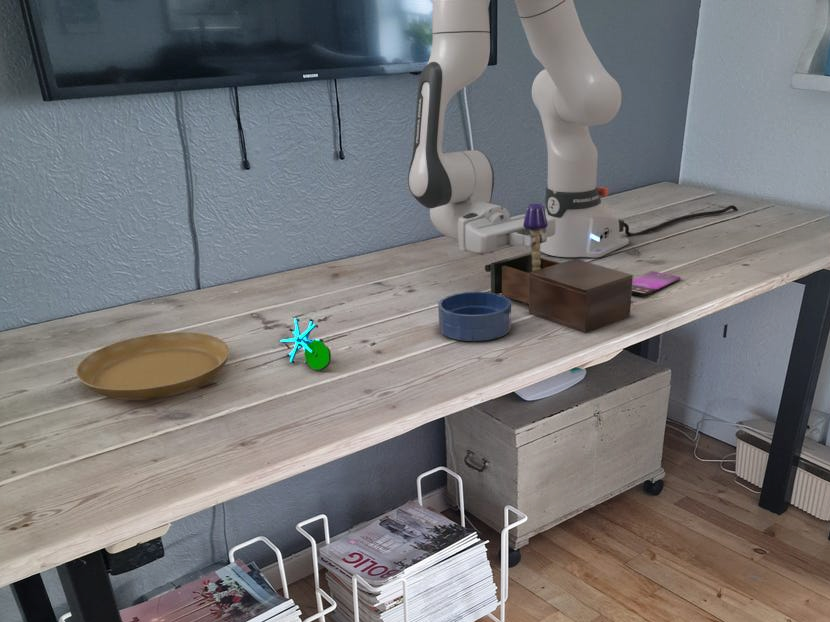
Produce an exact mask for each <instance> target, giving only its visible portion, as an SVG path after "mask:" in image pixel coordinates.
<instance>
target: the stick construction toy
mask: <svg viewBox="0 0 830 622" xmlns="http://www.w3.org/2000/svg"><path fill="white" fill-rule="evenodd" d="M293 319H294V328H295V329H293V328H290V327H289V328H288V331H289V332H291V333H292V335H294V336H295V337H292V338H291V337H290V338H284V339H280V340H279V341H280V343H282V344H286V343H294V346H293V349H292V351H291V352H289V353H286V354H285V357H288V358H290V359H289V363H291V364H295V363H296V361H295V357H296V354H297V353H298V352H299V351H300V350H301V349H302V348H303V352H304V361H303V362H304V364H307V365H309V366H310V367H311V369H313V370H315V371H322V370H325V369H326V368H327V367H328V366H329V365H330V363H331V359H332V354H331V350H330V348H329V346H328V345H326V344H325V343H324V342H325V340H324V339H322V338H318V339H309V337H310V334H311V332H312V331H313V330H314V329H315V328H316V329H318V328H319V325H318V324H316V323H314V321H315V319H312V318H310V317H309V318H308V321H309V324H308V326H307V329H306V330H305V331H303V332H302V333H301V330H300V326H299V322H300V319H299V318H297V317H294V318H293Z"/></svg>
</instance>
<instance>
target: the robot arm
mask: <svg viewBox="0 0 830 622" xmlns="http://www.w3.org/2000/svg"><path fill="white" fill-rule="evenodd" d="M490 2H491V0H432V14H431V15H432V17H431V27H432V28H431V31H432V32H431V35H432V44H431V51H430V55H429V59H428V62H427V64H426V65H425V66H424V67H423V68H422V69H421V73H420V76H419V80H418V88H417V97H416V107H415V122H414V135H413V146H412V156H411V160H410V165H409V169H408V173H407V184H408V189H409V192H410V193H411V195H412V196H413V198H414V200H416V202H417V203H419V204H420V205H422V206H423V207H424V208H426V209H429V217H430V221H431V223H432V226H434V228H435V229H436V230H437V231H438V232H439V233H441V234H442V235H444V236H446V237H449V238H450V239H453V240H456V241H458V250H459V251H460V252H461V251H462V252H472V253H477V254H489V253H491V252H496V251H499V250H504V249H507V248H511V247H515V246H525V247H531V246H533V245H535V244H536V242H535V240H536V237H535V236H532V234H531V229H526V228H524V226H523V224H524V219H525V214H526V213H522V214H518V215H513V216H511V213H510V212H509V210H508V209H507V208H505V207H504V206H502V205H498V204H495V203H491V202H492V197H493V192H494V187H495V172H494V167H493V164H492V163H491V160H490V159H489V157H487V155H486V154H485V153H484V152H483V151H481V150H478V149H472V150H459V151H455V152H454V151H453V152H445V153H443V138H444V129H445V128H444V126H445V115H446V109H447V106H448V104H449V102H450V101H451V99H452V98H453V97H454V96H455V95H456V94H457V93H458V92H460V91H461V90H463V89H464V88H466V87H467V86H469V85H471V84H473V83H474V82H476V80H477V79H479V77H481V76H482V75H483V73H484V72H485V71H486V68H487V67H488V64H489V61H490V56H491V33H490V32H491V30H490V29H491V27H490V14H489V13H490V12H489V6H490ZM514 4H515V8H516V10H517V14H518V16H519V19H520V22H521V25H522V28H523V29H524V30H523V31H524V33H525V36H526V39H527V42H528V45H529V48H530V50H531V52H532V54H533V56H534V57H535V58H536V60H537V61H538V62H539V63H540V64H541V65H542V67H543V68H544V69H542V70H541V71H540V72H539V73H538V74H536V76H535V78H534V79H533V82H532V87H531V99H532V102H533V104H534V106H535V107H536V109H537V111H538V113H539V116H540V119H541V124H542V128H543V133H544V138H545V142H546V150H547V186H546V187H545V192H544V203H545V209H544V212H545V215H546V219H547V224H548V225H547V227H546V228H543V229H540V234H539V235H540V242H539V243H540V253H543V254H546V255H549V256H552V257H553V256H554V257H560V258H593V259H594V258H601V257H603V256H605V255H607V254H611V253H612V252H614V251H616V250H619V249H621V248H623V247H625V246H628V245H629V244H630V240H629V238H627V237H626V236H628V237H634V236H641V235H645V234H648V233H650V232H654V231H657V230H659V229H661V228H664V227H667V226H668V225H671V224H674V223H678V222H681V221H684V220H688V219H692V218H699V217H703V216H711V215H720V214H723V213H726V212H728V211H729V210H733V211H734V212H737V211H739V209H738V208H737V206H736V205H733V204H732V205H728V206H726V207H724V208H722V209H718V210H711V211H702V212H697V213H692V214H691V213H690V214H687V215H682V216H679V217H676V218H672V219H670V220H667V221H664V222H662V223H660V224H658V225H655V226H652V227H649V228H646V229H643V230H641V231H638V232H635V233H633V232H630V226H629V224H628V223H627V222H625V220H623V219H619V218H618V217H617V216H616V214H614V213H613V212H612V211H611V210H610V209H608V208H607V207H606V206H605V205H604V204H603V203H602V200H601V197H605V198H607V197H608V196H609V194H610V189H609V187H603V186H600V187H599V188H598V187H597V176H598V160H599V159H598V156H599V153H598V149H597V147H596V145H595V144H594V142H593V140H592V136H591V134H590V130H589V127H596V126H602V125H605V124H608V123H609V122H611V121H612V120H614V119H615V117H616V116H617V114H618V113H619V110H620V108H621V104H622V89H621V87H620V84H619V83H618V81H617V80H616V79H615V78H613V76H612V75H610V74H609V72H608V71H607V70H606V68H605V66H603V64H602V62H601V61H600V59H599V58H598V56H597V54H596V52H595V51H594V49H593V47H592V45H591V43H590V42H589V40H588V38H587V36H586V33H585V32H584V29H583V27H582V23H581V21H580V18H579V15H578V12H577V9H576V6H575V2H574V0H514ZM624 229H625V230H624ZM622 232H624V233H625V235H626V236H623V235H621V234H620V233H622ZM727 333H728V323H727V324H724V326H723V334H722V338H724V339H725V338H727Z"/></svg>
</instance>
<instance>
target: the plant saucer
mask: <svg viewBox="0 0 830 622" xmlns="http://www.w3.org/2000/svg"><path fill="white" fill-rule="evenodd" d="M229 355H230V346H229V345H228V344H227V342H225V340H223V339H221V338H219V337H217V336H214V335H211V334H206V333H201V332H192V331H191V332H189V331H172V332H171V331H168V332H159V333H151V334H144V335H140V336H136V337H131V338H127V339H126V338H125V339H123V340H120V341H116V342H113V343H111V344H108V345H106V346H103V347H100V348H99V349H97V350H95V351H93V352H91V353H90V354H88V355H87V356H85V357H84V358H83V359H81V361H80V362H79V363H78V364H77V366H76V369H75V375H76V377H77V379H78V380H79V381H80V382H81V384H83V386H85V388H88V389H89V390H91V391H92V392H94V393H96V394H98V395H101V396H104V397H106V398H111V399H114V400H120V401H151V400H157V399H164V398H169V397H175V396H177V395H181V394H184V393H187V392H190V391H192V390H194V389H197V388H199V387H201V386H203V385H205V384H206V383H208V382H209V381H211V380H212V379H214V378H215V377H216V376H217V375H218V374H219V373H220V372H221V371H222V369H223V368H224V366H225V365H226V363H227V361H228V359H229V357H230V356H229Z"/></svg>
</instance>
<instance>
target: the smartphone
mask: <svg viewBox="0 0 830 622" xmlns="http://www.w3.org/2000/svg"><path fill="white" fill-rule="evenodd" d="M680 280H681V276H679V275H674V274H668V273H664V272H658V271H654V270H653V271H649V272H647V273H645V274H642V275H640V276H637V277H636V278H633V280H632V293H631V294H634V295H639V296H643V297H644V296H647V295H650V294H651V293H654V292H657V291H658V290H660V289H662V288H665V287H667V286H668V285H671V284H673V283H675V282H677V281H680Z"/></svg>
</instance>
